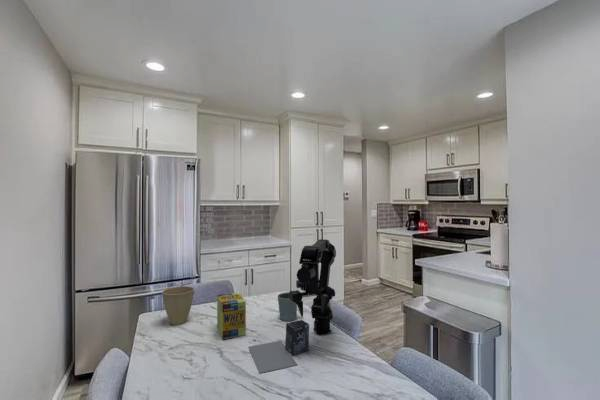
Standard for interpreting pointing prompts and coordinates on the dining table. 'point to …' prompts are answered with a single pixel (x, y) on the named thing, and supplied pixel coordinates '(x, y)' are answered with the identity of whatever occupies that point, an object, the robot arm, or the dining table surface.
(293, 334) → the box
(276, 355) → the mat
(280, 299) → the drinking glass
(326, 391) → the dining table surface
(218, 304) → the protein box
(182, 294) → the plant pot
